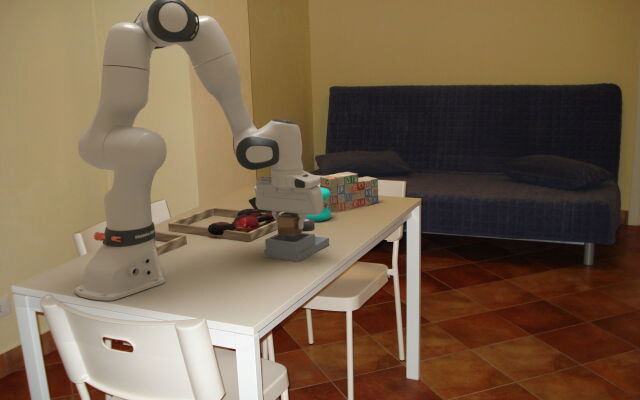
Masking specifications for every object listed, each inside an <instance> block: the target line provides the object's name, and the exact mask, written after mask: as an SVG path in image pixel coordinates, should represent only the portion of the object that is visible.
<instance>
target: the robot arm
mask: <svg viewBox="0 0 640 400" xmlns="http://www.w3.org/2000/svg"><path fill="white" fill-rule="evenodd" d="M174 45H178V46H180V48H182V49H183V51H185V52H186V54H187V55H188V57H189V60H190V62H191V65H192V67H193V69H194V72H195V74H196V76H197V77H198V79H199V81H200V83H201V84H202V86H203V87H204V89H205V90H206V92H207V93H209V94H210V95H211V96H212V97H214V99H215V100H216V101H217V102H218V104H219V106H220V108H222V110H223V114H224V116H225V118H226V120H227V122H228V125H229V127H230V129H231V132H232V148H233V153H234V156H235V158H236V160H237V162H238V164H239V165H240V166H241V167H242V168H245V169H246V170H249V171H257V170H260V169H261V170H262V169H265V168H270V176H260V177H258V179H257V180H256V181H255V186H256V188H257V190H256V193H255V197H256V206H257V208H258V209H260V210H270V211H272V215H273V217H274V219H275V220H276V226H278V224H277V217H278V216H280V215H281V213H284V212H288V213H298V215H299V217H300V220H299V221H298V222H296V229H302V228H303V227H304V224H303V222H304V220H305V218H306V217H307V215H318V214H320V213H321V212H322V211H323V196H322V191H321V189H320V176H316V175H314V174H312V173H310V172H308V171H305V170H304V166H303V162H302V155H303V141H302V135H301V129H300V126H299V125H298V123H296V122H295V121H292V120H289V119H284V118H273V119H270V121H269V122H268V123H266V124H264V126H261V128H258V127H257V126H256V125H255V123H254V122H253V120H252V118H251V114H250V113H249V110H248V107H247V106H246V104H245V101H244V98H243V94H242V86H241V85H242V83H241V82H242V79H241V78H242V75H241V72H240V68H239V63H238V60H237V57H236V55H235V52H234V49H233V47H232V45H231V43H230V41H229V39H228V37H227V36H226V34H225V32H224V31H223V29H222V27H221V25H220V24H219V22H218V21H217V20H216V19H215V18H214V17H212V16H210V15H198V14H197V13H196V12H195V11H194V10H193V9H191V8H190V7H189V6H188V5H187V4H186V3H185V2H184V1H182V0H154V1H152V2H150V3H148V4H147V5H146V6H145V8H143V9H142V11H140V13H138V16H137V17H136V19H135V20H134V21H133V22H129V21H126V22H123V21H122V22H118V23H115V24H114V25H112V26H111V27H110V29H109V30H108V32H107V36H106V39H105V45H104V49H103V50H104V51H103V56H102V69H101V70H102V72H101V74H102V75H101V84H100V85H101V86H100V95H99V96H100V97H99V101H98V105H97V108H96V111H95V114H94V117H93V119H92V121H91V123H90V125H89V126H88V127H87V129H85V131H83V132H82V134H81V135H80V137H79V138H78V139H79V140H78V143H77V149H78V154H79V156H80V157H81V160H82V161H83V162H85V163H86V164H88V165H90V166H93V167H96V168H98V169H99V170H100V169H101V170H107V171H113V174H114V175H113V176H114V177H113V183H112V185H111V189H109V190H108V191H107V192H106V193H105V194H104V197H103V206H104V213H105V214H104V215H105V221H106V223H105V224H106V227H105V228H104V233H103V232H99V231H96V232H95V233H94V234H93V239H94V240H95V241H100V242H102V245H101V246H100V247H99V249H98V250H97V251H96V252H95V254H94V255H93V256H92V258H91V259H90V260H89V261H88V262H87V264H86V265H85V267H84V270H83V283H81V284H80V285H78V286H77V287H75V288H74V294H75V295H77V296H79V297H81V298H85V299H89V300H93V301H94V300H95V301H115V300H119V299H122V298H124V297H128V296H130V295H133V294H136V293H140V292H143V291H145V290H148V289H150V288H154V287H156V286H159V285H163V284H164V283H165V282H166V281H165V278H164V277H165V273H164V271H163V268H162V265H161V262H160V258H159V255H158V253H157V249H156V246H157V245H156V242H155V241H156V240H154V237H155V231H156V228H155V222H154V221H153V215H152V204H151V203H152V202H151V191H152V185H153V181H154V178H155V175H156V173H157V172H158V170H159V169H160V168H161V167H162V166H163V165H164V164H165V161H166V158H167V154H168V151H167V150H168V149H167V144H166V142H165V139H164V137H162V135H161V134H159V133H158V132H156V131H153V130H150V129H148V128H144V127H138V126H137V127H135V126H134V123H135V121H136V118H137V116H138V114H139V113H140V112H141V111H142V110H143V109H144V108H145V107H146V106H147V105H148V102H149V91H150V90H149V89H150V77H151V76H150V75H151V73H150V71H151V70H150V69H151V57H152V54H153V51H154V50H158V49H159V50H160V49H163V48H167V47H172V46H174ZM318 185H319V186H318Z"/></svg>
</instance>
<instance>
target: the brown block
mask: <svg viewBox="0 0 640 400" xmlns="http://www.w3.org/2000/svg"><path fill="white" fill-rule="evenodd" d="M279 215H280V216H278V217H277V224H278V229H277V234H279V235H286V236H295V235H297V234H299V233H301V232H302V233H304V232H303V228H302V229H296V222H298V221H299V220H300V217H299V215H298V213H288V212H281V213H280V214H279Z"/></svg>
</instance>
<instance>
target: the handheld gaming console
mask: <svg viewBox="0 0 640 400" xmlns="http://www.w3.org/2000/svg"><path fill="white" fill-rule="evenodd" d="M248 202H249V204H250V205H251V207H252V209H257V210H259V211H260V212H261V213H272V211H270V210H260V209H258V208H257V206H256V196H255V197H254V196H253V197H252V198H250V199H248Z"/></svg>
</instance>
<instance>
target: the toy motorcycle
mask: <svg viewBox="0 0 640 400" xmlns="http://www.w3.org/2000/svg"><path fill="white" fill-rule="evenodd" d="M273 218H274V217H273V215H272V213H266V214H265V215H263V216H261V212H260V211H259V210H257V209H254V208H245V209H242V210H241V211H239V212H238V214H237V217H236V218H234V219H233V221H232V222H231V223H230V222H225V221H217V222H213V223H210V224H209V225H208V231H209V233H211V234H213V235H222V234H223V233H224V231H225V230H231V231H239V232H251V231H253V230H255V229H258V228H259V223H262V222H268V220H272V219H273Z"/></svg>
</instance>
